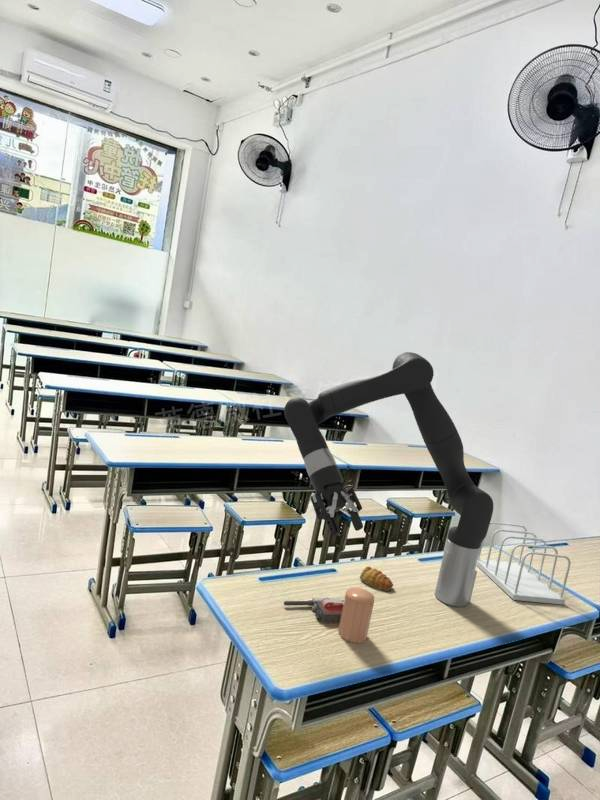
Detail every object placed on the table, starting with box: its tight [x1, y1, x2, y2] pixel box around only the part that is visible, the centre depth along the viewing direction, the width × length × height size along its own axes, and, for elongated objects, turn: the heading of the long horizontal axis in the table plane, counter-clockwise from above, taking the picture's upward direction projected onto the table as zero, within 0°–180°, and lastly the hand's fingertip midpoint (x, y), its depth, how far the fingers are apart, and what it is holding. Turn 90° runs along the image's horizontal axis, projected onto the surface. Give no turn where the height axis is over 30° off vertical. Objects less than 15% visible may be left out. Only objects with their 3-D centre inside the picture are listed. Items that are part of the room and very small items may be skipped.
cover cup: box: [337, 587, 375, 644], centre depth 127 cm, size 7×7×10 cm
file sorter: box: [476, 521, 572, 606], centre depth 174 cm, size 25×17×16 cm
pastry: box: [359, 565, 394, 592], centre depth 156 cm, size 9×7×4 cm
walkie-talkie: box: [283, 597, 344, 624], centre depth 135 cm, size 9×4×20 cm
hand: (348, 531), depth 129 cm, fingers open, 8 cm apart
